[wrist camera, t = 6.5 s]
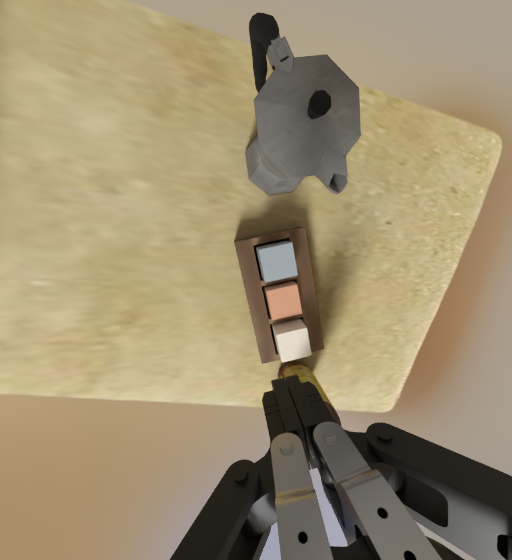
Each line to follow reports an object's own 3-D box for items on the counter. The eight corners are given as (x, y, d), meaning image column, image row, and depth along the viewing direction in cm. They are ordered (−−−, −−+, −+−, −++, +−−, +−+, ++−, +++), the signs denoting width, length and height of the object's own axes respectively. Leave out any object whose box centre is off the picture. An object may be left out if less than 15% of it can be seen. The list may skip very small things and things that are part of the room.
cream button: (276, 349, 39) (281, 362, 35) (271, 323, 38) (276, 334, 34) (303, 342, 39) (311, 355, 36) (299, 317, 38) (306, 327, 35)
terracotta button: (268, 310, 39) (272, 320, 35) (262, 284, 38) (266, 291, 34) (295, 304, 39) (302, 313, 36) (290, 278, 38) (297, 284, 35)
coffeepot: (326, 187, 36) (413, 154, 19) (271, 221, 37) (306, 218, 19) (275, 80, 33) (325, -83, 15) (214, 118, 33) (195, 0, 16)
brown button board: (259, 353, 41) (262, 363, 38) (234, 241, 37) (234, 242, 34) (317, 340, 42) (324, 348, 39) (299, 227, 37) (305, 227, 34)
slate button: (261, 276, 36) (265, 282, 33) (255, 247, 35) (258, 249, 32) (290, 269, 37) (297, 275, 33) (285, 240, 36) (292, 242, 32)
